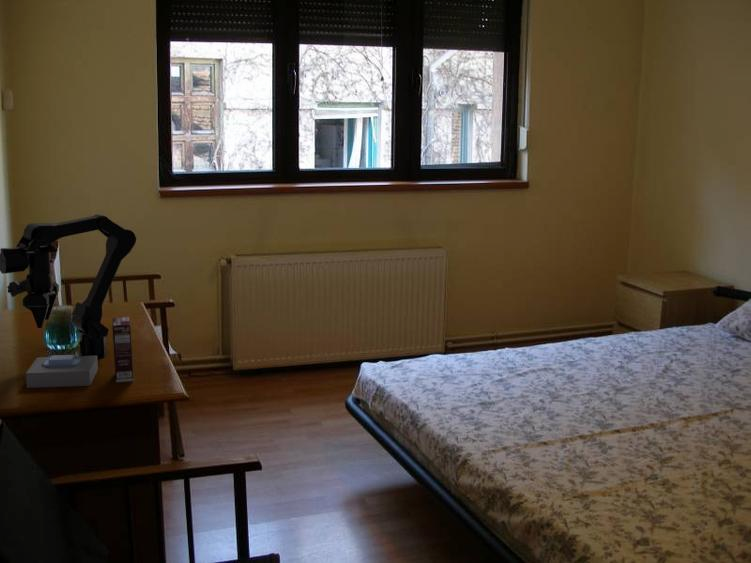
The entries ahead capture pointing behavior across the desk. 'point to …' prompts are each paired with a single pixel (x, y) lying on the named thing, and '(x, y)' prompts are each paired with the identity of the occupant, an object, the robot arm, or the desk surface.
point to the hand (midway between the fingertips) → (43, 323)
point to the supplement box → (122, 349)
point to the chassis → (62, 373)
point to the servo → (62, 361)
